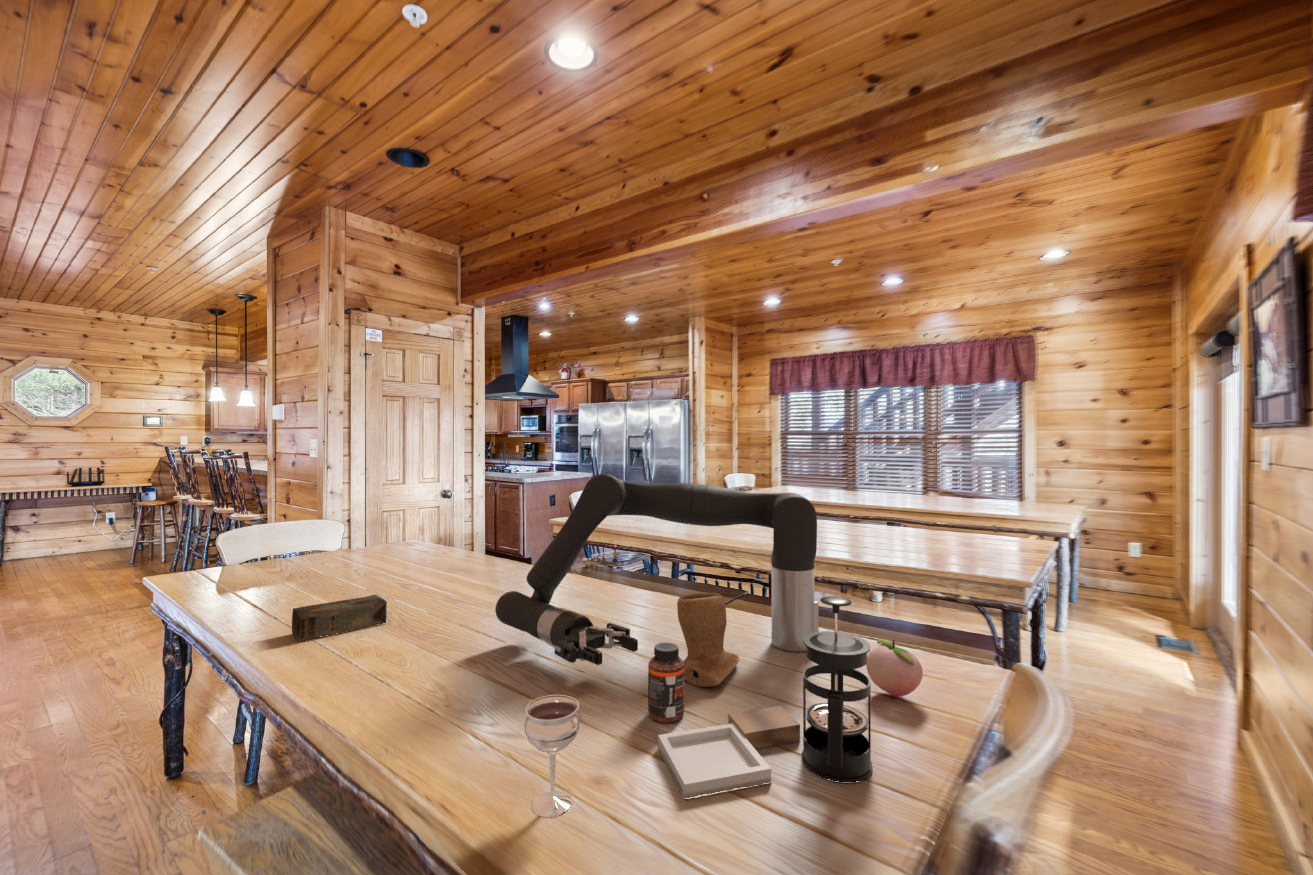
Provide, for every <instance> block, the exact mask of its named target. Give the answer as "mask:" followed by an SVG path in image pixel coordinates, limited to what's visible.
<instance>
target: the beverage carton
mask: <svg viewBox="0 0 1313 875" xmlns="http://www.w3.org/2000/svg"><path fill="white" fill-rule="evenodd" d="M387 603H388V602H387V600H385V599H384V598H382V597H381V596H380V595H379V594H372V595H368V596H365V597H356V598H350V599H344V600H343V599H342V600H336V601H330V602H324V603H317V604H311V605H305V606H298V607H294V608H292V612H291V613H292V615H291V633H292V635H293V636H294V639H295V640H296V641H297V643H300V641H301V642H305V641H304V640H306V641H310V640H309V639H311V640H313V639H312V638H315V639H318V638H317V637H320V636H325V637H327V636H326V635H330V636H333V635H332V634H335V635H337V634H336V633H340V634H343V633H342V632H345V633H347V632H346V631H350V632H352V631H351V630H354V631H356V630H355V629H359V630H361V629H360V628H364V629H367V628H366V627H368V628H370V627H369V626H373V627H375V626H374V625H377V624H382V625H384V624H383V623H386V624H387V617H388V616H387V613H388V611H387V606H388V605H387ZM377 626H378V625H377ZM320 638H321V637H320Z"/></svg>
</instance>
